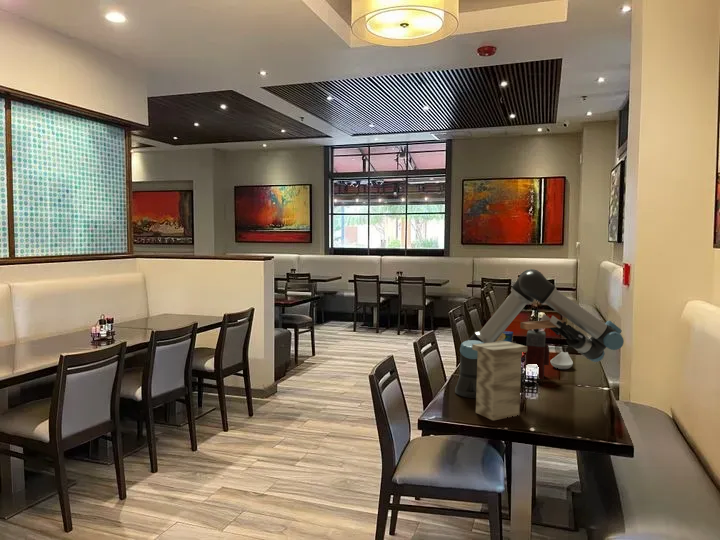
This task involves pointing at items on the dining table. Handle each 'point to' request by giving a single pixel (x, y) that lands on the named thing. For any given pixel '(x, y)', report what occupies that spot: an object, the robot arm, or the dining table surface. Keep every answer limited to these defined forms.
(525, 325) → the strip
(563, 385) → the dining table surface
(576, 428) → the dining table surface
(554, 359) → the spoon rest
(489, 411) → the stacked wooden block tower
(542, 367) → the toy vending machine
